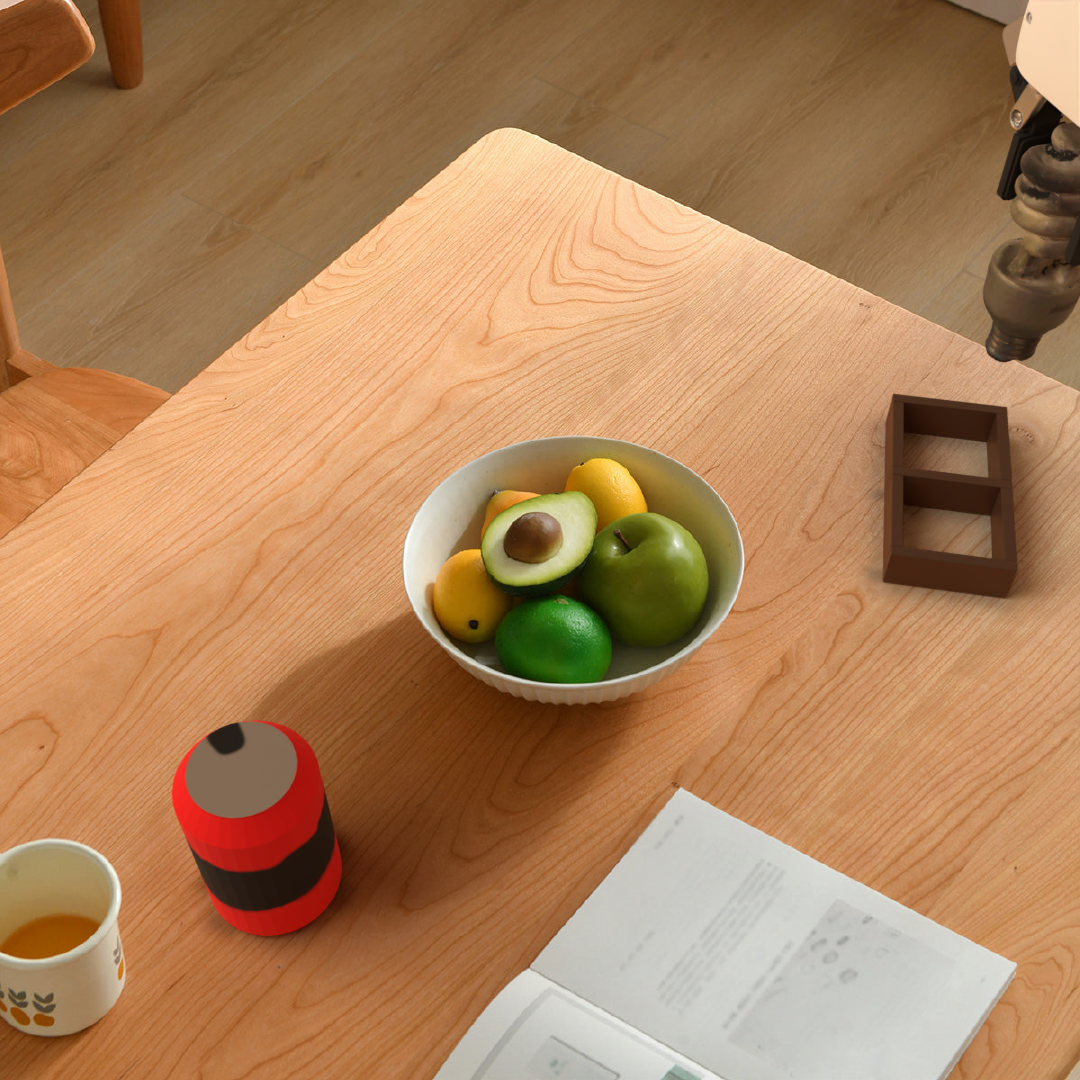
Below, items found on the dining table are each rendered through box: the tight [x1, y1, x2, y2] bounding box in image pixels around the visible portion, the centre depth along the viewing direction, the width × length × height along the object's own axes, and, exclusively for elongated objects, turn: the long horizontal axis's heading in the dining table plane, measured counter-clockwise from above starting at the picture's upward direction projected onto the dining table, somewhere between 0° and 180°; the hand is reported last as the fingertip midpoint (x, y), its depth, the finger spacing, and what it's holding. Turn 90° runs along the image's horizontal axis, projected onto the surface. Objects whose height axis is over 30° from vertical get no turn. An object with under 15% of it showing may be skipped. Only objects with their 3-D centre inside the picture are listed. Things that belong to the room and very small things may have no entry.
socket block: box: [882, 393, 1019, 599], centre depth 95 cm, size 16×8×3 cm, turn 170°
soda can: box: [171, 719, 343, 937], centre depth 73 cm, size 8×8×12 cm
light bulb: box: [982, 122, 1080, 363], centre depth 75 cm, size 6×6×15 cm
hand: (1056, 222), depth 73 cm, fingers closed on light bulb, 5 cm apart
